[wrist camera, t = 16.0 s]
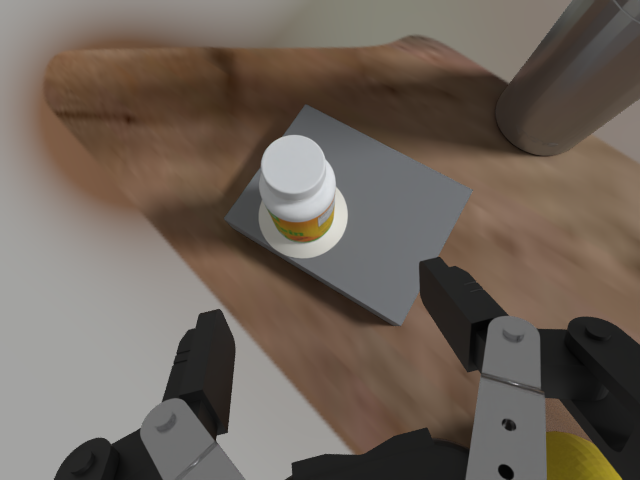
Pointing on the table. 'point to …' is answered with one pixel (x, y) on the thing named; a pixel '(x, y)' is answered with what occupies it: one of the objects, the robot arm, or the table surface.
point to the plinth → (364, 218)
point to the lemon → (575, 459)
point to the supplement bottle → (298, 188)
